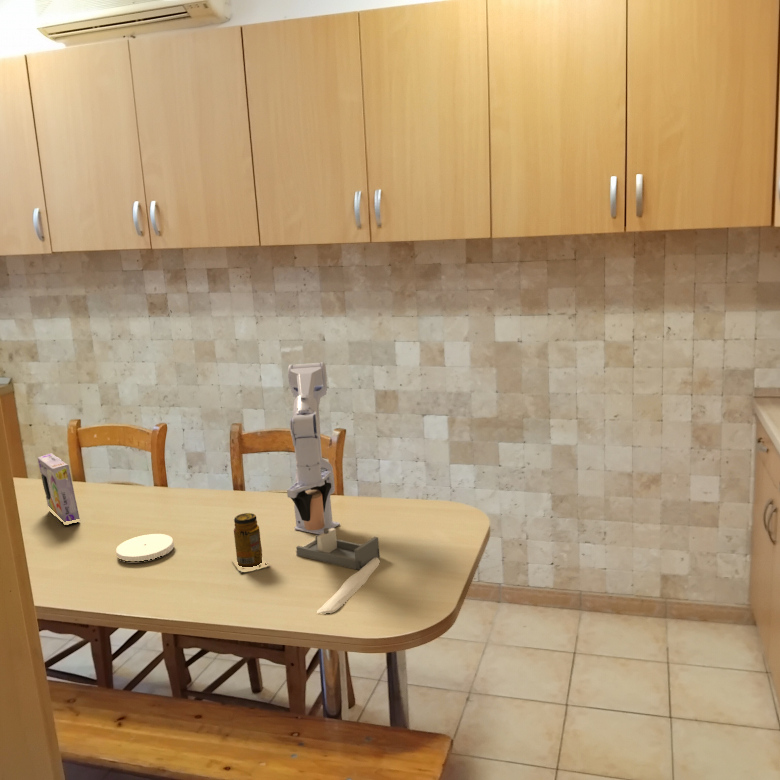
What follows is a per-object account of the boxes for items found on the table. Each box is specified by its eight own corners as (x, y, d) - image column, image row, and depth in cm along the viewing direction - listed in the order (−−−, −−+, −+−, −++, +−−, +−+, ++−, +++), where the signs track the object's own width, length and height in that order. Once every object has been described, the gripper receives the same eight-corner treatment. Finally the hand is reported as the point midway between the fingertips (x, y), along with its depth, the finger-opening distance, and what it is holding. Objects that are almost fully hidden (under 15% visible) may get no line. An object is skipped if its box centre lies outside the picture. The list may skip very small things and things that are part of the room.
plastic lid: (180, 556, 200) (179, 546, 199) (123, 571, 193) (121, 561, 193) (166, 538, 212) (165, 529, 211) (112, 552, 206) (111, 542, 205)
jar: (300, 527, 194) (296, 494, 192) (314, 520, 198) (310, 488, 196) (315, 531, 191) (312, 498, 189) (329, 524, 195) (326, 491, 193)
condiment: (260, 554, 197) (254, 509, 194) (270, 567, 189) (265, 519, 187) (231, 562, 194) (225, 515, 191) (240, 575, 186) (235, 527, 184)
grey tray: (296, 555, 195) (294, 536, 194) (317, 542, 201) (315, 524, 200) (359, 570, 184) (357, 550, 183) (379, 556, 191) (378, 537, 189)
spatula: (372, 558, 190) (372, 549, 190) (388, 563, 189) (388, 554, 188) (313, 617, 166) (314, 607, 165) (331, 623, 164) (332, 612, 163)
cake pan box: (45, 511, 239) (36, 454, 235) (63, 506, 242) (53, 450, 238) (63, 528, 224) (52, 468, 220) (81, 523, 226) (71, 464, 223)
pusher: (318, 556, 192) (316, 532, 191) (333, 546, 197) (331, 524, 196) (322, 556, 192) (320, 533, 190) (337, 547, 196) (335, 525, 195)
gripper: (301, 474, 183) (306, 529, 186) (339, 456, 194) (344, 508, 197) (278, 470, 187) (283, 524, 190) (317, 452, 198) (322, 504, 201)
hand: (313, 516), depth 194 cm, fingers closed on jar, 5 cm apart
